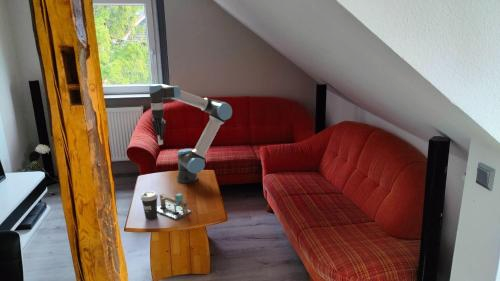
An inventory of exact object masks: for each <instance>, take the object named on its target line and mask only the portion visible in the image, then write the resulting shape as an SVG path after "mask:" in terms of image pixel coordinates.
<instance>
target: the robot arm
mask: <svg viewBox="0 0 500 281" xmlns="http://www.w3.org/2000/svg"><path fill="white" fill-rule="evenodd" d="M148 88H149V89H148V90H149V98H150V108H151V115H152V118H151V119H150V121H151V124H152V128H153V131H154V134H155V135H156V137H157V138H156V139H157V144H158V145H159V146H161V145H163V144H164V137H163V136H164V135H165V134H166V123H167V120H166V119H164V115H165V112H164V111H165V110H164V102H163V100H168V99H172V100H175V101H178V102H182V103H183V104H187V105H190V106H192V107H195V108H198V109H201V110H200V111H203V112H205V113H208V114H209V115H208V116H209V121H208V122H207V124H206V126H205V128H204V129H203V131H202V133H201V135H200V138H199V139H198V141H197V143H196V145H195V147H194V149H193V148H184V149H180V150H178V151H177V153H176V154H177V155H176V156H177V164H178V165H177V166H178V171H177V172H178V173H177V176H176V181H177V183H180V184H191V183H194V182H196V181H198V179H199V176H198V174H199V173H201V172H202V171H203V170H204V168H205V166H206V164H205V160H206V159H207V157H206V154H207V151H208V150H209V148H210V146H211V144H212V142H213V140H214V139H215V136H216V135H217V132H218V131H219V129H220V128H221V125H223V124H225V122H226V120H229V119H231V117H232V116H233V115H232V114H233V109H232V106H231V105H230V104H229V103H227V102H226V101H221V100H218V99H211V98H209V97H204V98H203V97H201V96H199V95H196V94H193V93H191V92H187V91H184V90H181V88H180V86H179V85H168V84H165V83H161V84H156V83H154V84H150V85H149V87H148Z"/></svg>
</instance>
